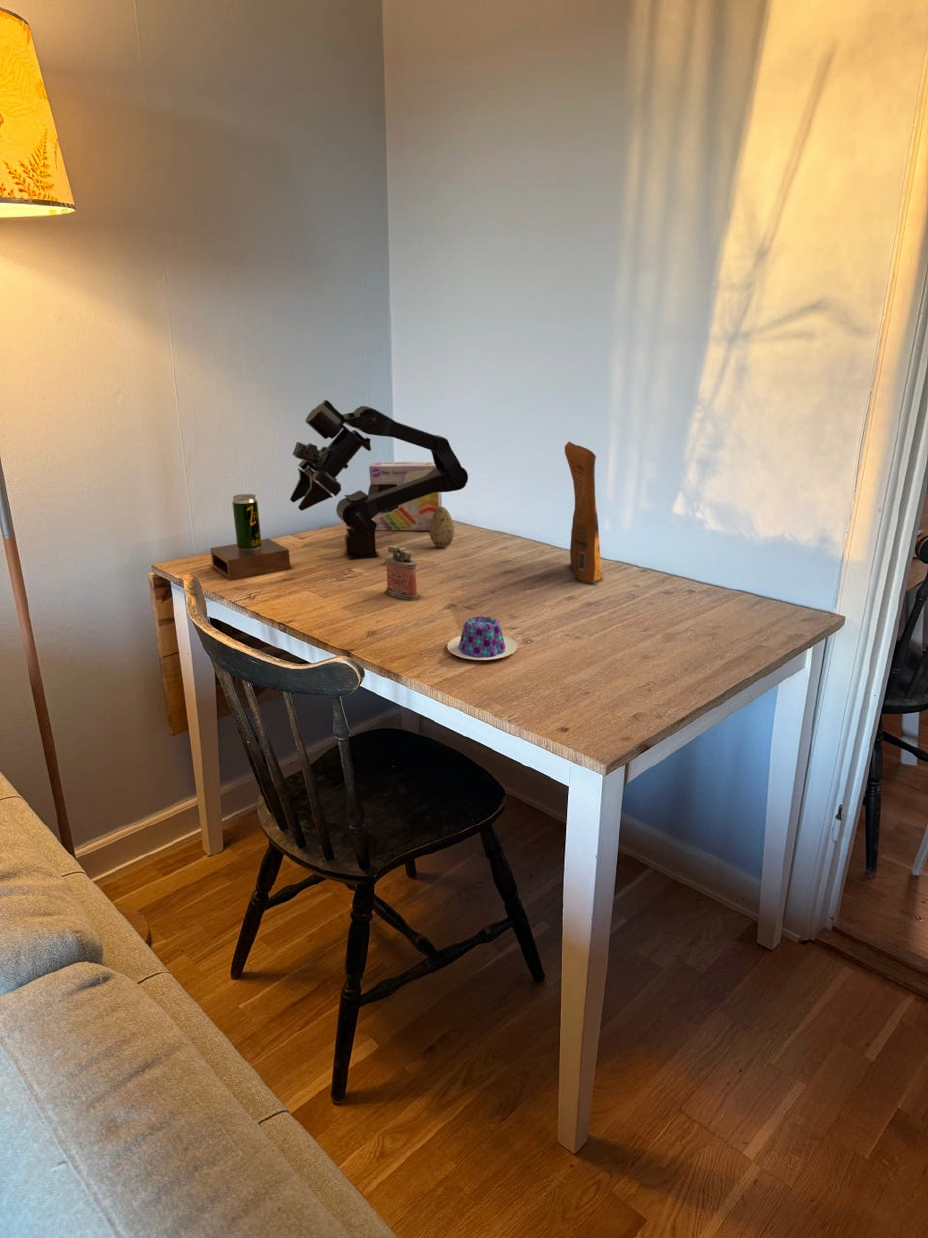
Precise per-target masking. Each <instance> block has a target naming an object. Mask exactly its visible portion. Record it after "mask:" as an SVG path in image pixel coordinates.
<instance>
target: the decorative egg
mask: <svg viewBox="0 0 928 1238" xmlns="http://www.w3.org/2000/svg"><path fill="white" fill-rule="evenodd" d="M454 536H455V527H454V522H453V519H452V516H451V514H450V512H449V511H448V510H447V509H446V507H444V506H442V507H439V508H438V509H437V510H436V511H435V513H434V514H433V517H432V520H431V524H430V530H429V537H430V540H431V542H432V543H433V544H434V546H436V547H438V548H446V547H448V546H449V545H450V544H451V543H452V542H453V541H454V540H453V539H454Z"/></svg>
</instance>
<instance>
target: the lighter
mask: <svg viewBox="0 0 928 1238" xmlns="http://www.w3.org/2000/svg"><path fill="white" fill-rule="evenodd" d="M387 553H389V554H392V555H386V556H385V557H384V561H385V564H386V565H385V566H386V582H387V583H386V586H387V587H386V594H388V595H390V596H392V597H394V598H395V597H396V598H399V599H404V600H409V601H413V600H414V601H415V600H417V599H418V598H419V593H418V588H417V587H418V586H417V585H418V584H417V567H418V562H417V561H416V560H414V559H412V551H411V550H407V547H405V546H403V547H398V546H395V545H389V546H387Z"/></svg>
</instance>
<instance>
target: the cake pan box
mask: <svg viewBox="0 0 928 1238" xmlns="http://www.w3.org/2000/svg"><path fill="white" fill-rule="evenodd" d="M434 468H436V466H435V463H434V461H433V462H431V461H430V462H429V461H427V462H425V461H423V462H422V461H421V462H420V461H419V462H418V461H372V463H371V464H370V465H369V466H368V471H369V480H370V481H369V483H370V484H369V487H368V492H367V495H374V494H376V493H379V492H382V491H385V490H388V489H390V488H393V487H396V486H399V485H402V484H405V483H407V482H410V481H413V480H416V479H419V478H421V477H424V476H426V475H427V474H428V473H429V472H431V471H432V470H433V469H434ZM439 507H443V497H442V492H436V493H431V494H428V495H426V496H423V497H420V498H417V499H415V500H412V501H409V502H406V503H403V504H401V505H398V506H395V507H392V508H390V509H387V510H384V511H381V512H379V513H378V514H377V515H376V516H375V517H374V518H372V520H373V521H374V522H375V523H377V527H376V530H375V531H430V524H431V520H432V517H433V514H434V513H435V511H436V510H437V509H438V508H439Z"/></svg>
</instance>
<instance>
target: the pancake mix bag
mask: <svg viewBox="0 0 928 1238" xmlns="http://www.w3.org/2000/svg"><path fill="white" fill-rule="evenodd" d="M564 455H565V457H566V461H567V464H568V467H569V471H570V475H571V478H572V483H573V492H574V510H573V515H572V522H571V523H572V524H571V532H570V534H571V535H570V545H569V546H570V547H569V548H570V549H569V556H570V557H569V558H570V559H569V560H570V567H571V570H572V571H573V573H574V574H575V576H576V578H577V579H578V581H580V582H582V583H587V584H594V585H595V582H598V581H600V579H601V574H602V573H601V572H602V560H601V544H600V532H599V530H600V529H599V520H598V519H599V518H598V509H597V502H596V501H597V500H596V473H595V472H596V470H595V469H596V467H595V466H596V460H597V455H596V454H595V453H594V452H593V451H592V450H590V449H588V448H586V447H584V446H581V445H577V444H574V443H572V442H571V441H568V442H566V444H565V445H564Z"/></svg>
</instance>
